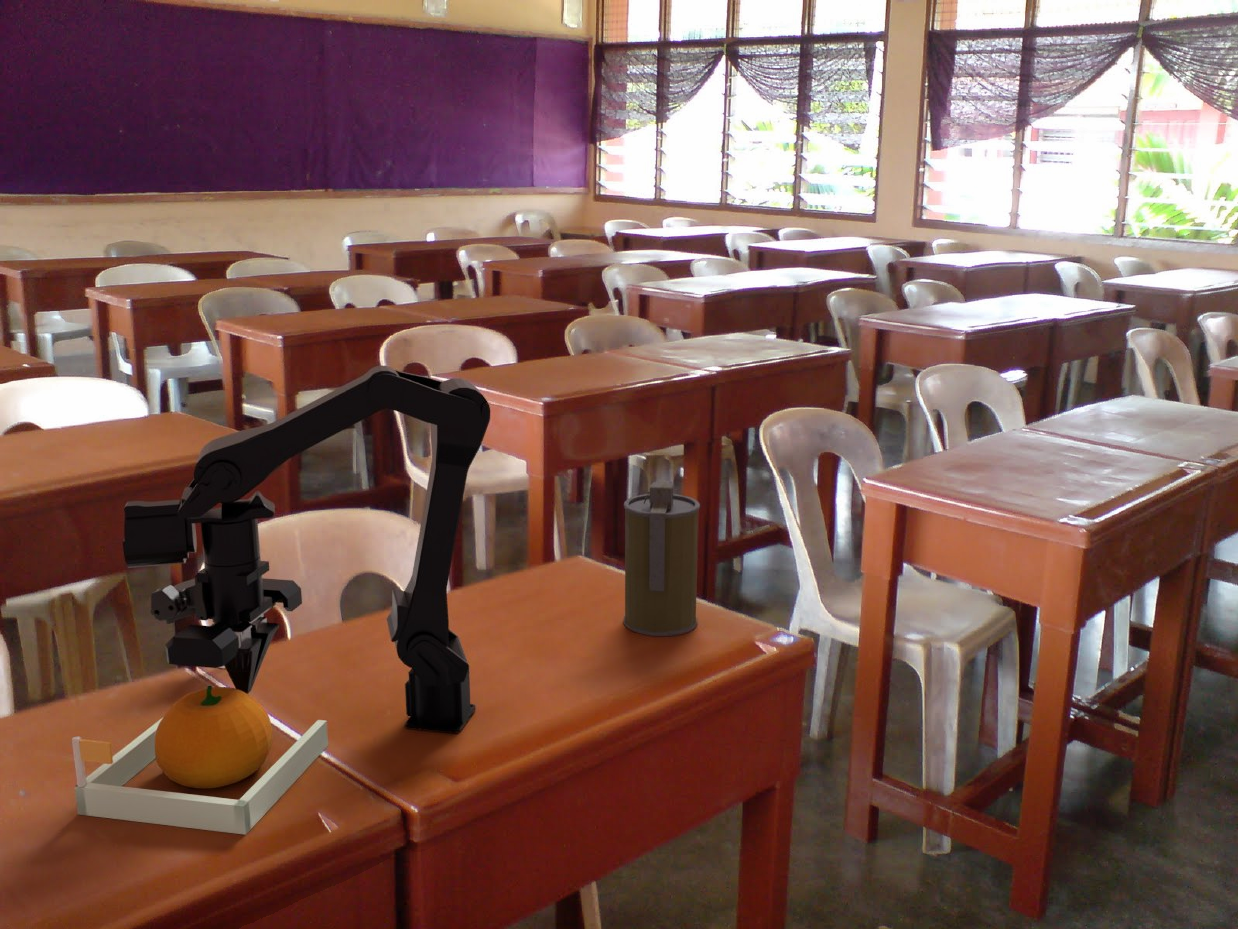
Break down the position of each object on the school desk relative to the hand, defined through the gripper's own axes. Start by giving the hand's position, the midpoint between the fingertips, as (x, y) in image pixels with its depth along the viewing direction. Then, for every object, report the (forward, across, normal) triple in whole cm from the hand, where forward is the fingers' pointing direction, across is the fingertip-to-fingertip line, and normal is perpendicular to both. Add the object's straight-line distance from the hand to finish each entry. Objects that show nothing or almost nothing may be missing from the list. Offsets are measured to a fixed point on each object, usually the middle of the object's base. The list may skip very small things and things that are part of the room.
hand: (244, 693), depth 127 cm
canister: (+6, -43, +39) cm, 59 cm away
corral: (+6, +8, 0) cm, 10 cm away
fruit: (+6, +7, 0) cm, 9 cm away
